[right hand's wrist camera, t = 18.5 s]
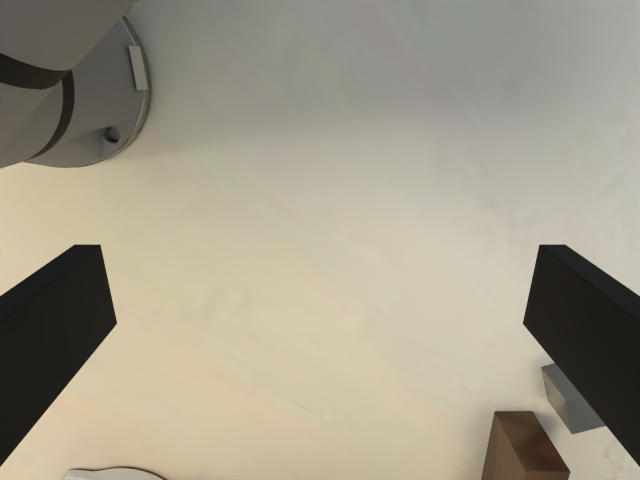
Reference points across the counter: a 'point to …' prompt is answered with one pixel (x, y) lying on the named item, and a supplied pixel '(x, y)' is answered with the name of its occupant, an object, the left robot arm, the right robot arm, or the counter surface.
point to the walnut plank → (521, 450)
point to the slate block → (569, 401)
